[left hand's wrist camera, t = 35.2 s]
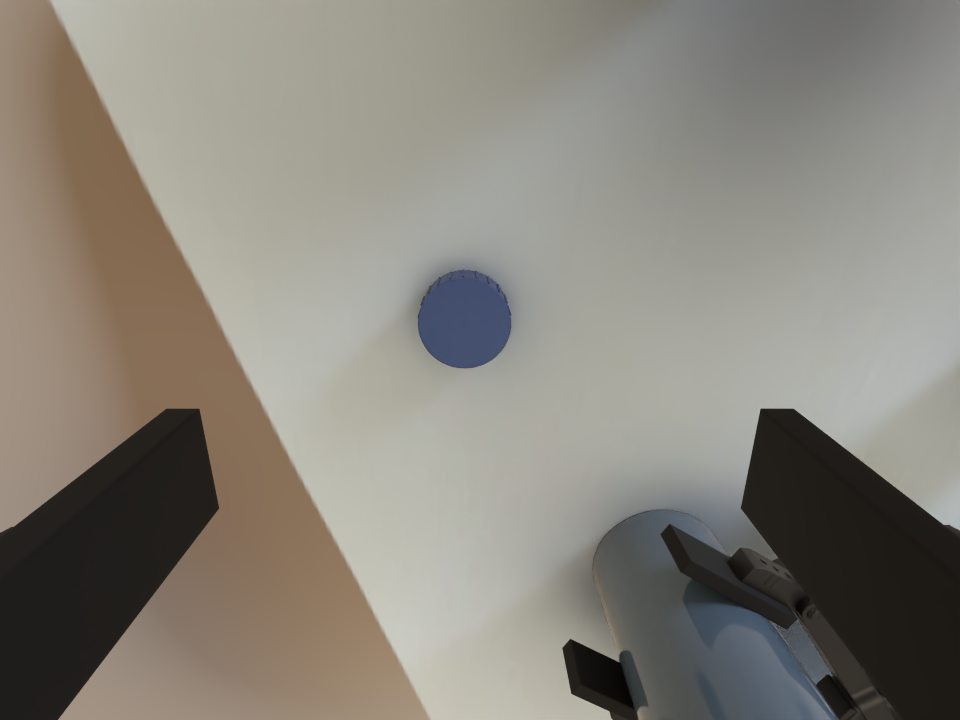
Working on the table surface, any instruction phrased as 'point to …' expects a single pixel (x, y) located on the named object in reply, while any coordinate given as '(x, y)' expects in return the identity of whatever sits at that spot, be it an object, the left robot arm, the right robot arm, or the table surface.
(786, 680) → the bottle
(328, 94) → the table surface
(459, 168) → the table surface
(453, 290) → the cap
